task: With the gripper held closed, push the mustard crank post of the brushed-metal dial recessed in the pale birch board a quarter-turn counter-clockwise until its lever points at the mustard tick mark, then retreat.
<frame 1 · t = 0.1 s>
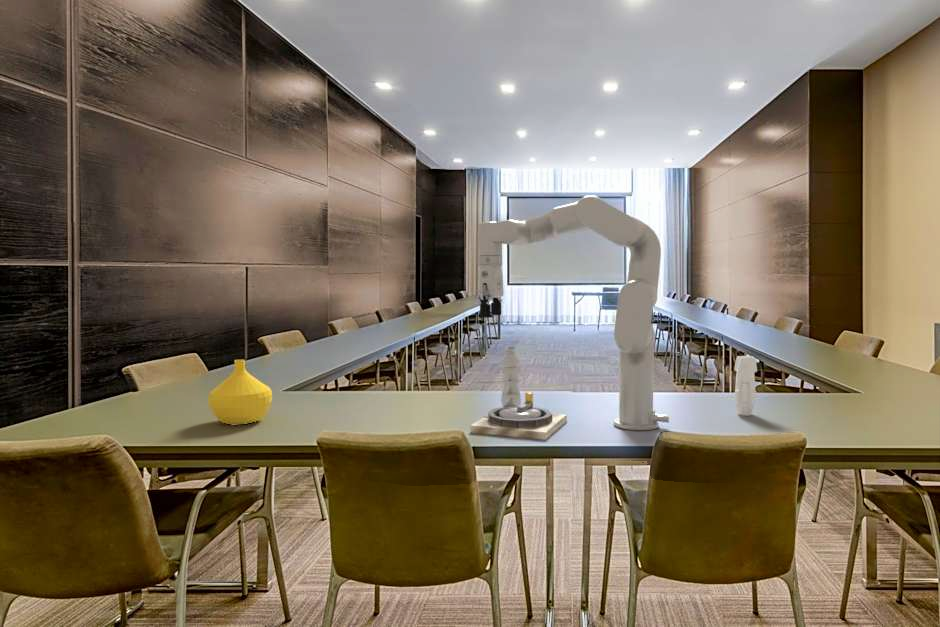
hand: (490, 316, 198), 31 cm above the table, fingers open, 9 cm apart
flashlight: (744, 414, 195), on the table
dial plate: (520, 426, 183), on the table
plastic bottle: (511, 408, 208), on the table
dial: (522, 407, 184), point 5 cm above the table, hinge at 0.0°
vase: (241, 422, 193), on the table
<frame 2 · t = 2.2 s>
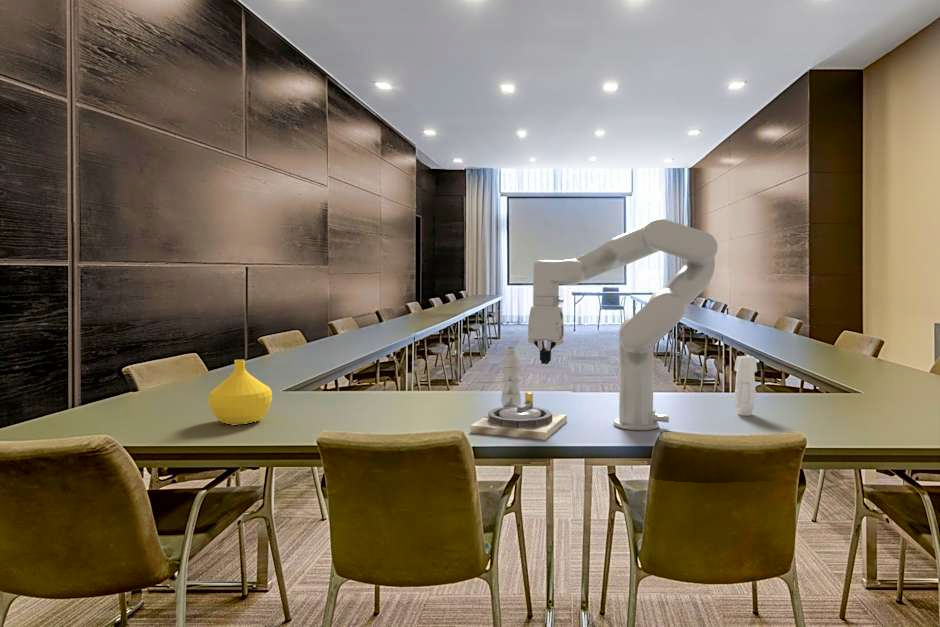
hand: (545, 363, 187), 18 cm above the table, fingers closed
nothing on the table moved.
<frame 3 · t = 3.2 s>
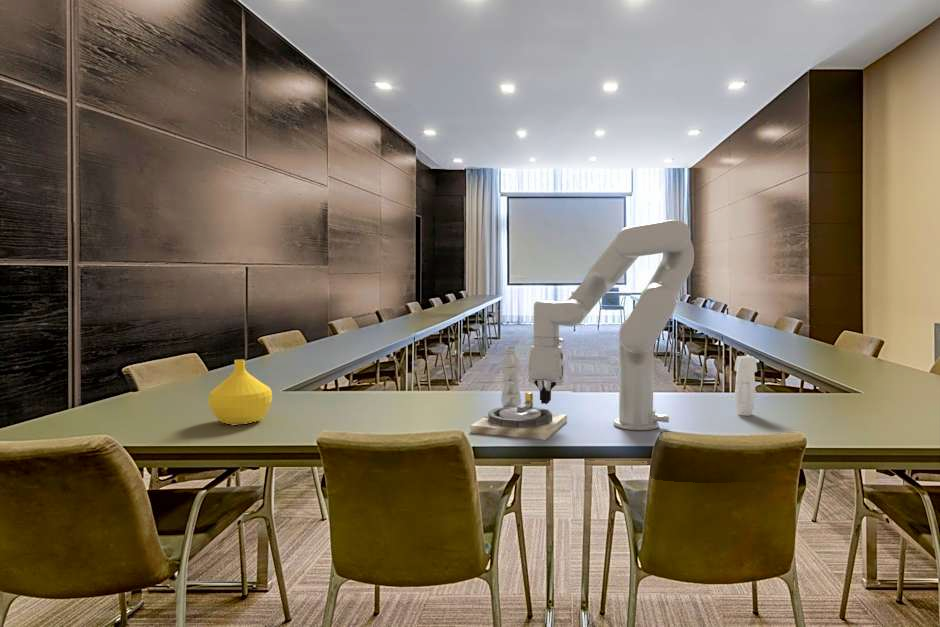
hand: (545, 402, 188), 6 cm above the table, fingers closed
nothing on the table moved.
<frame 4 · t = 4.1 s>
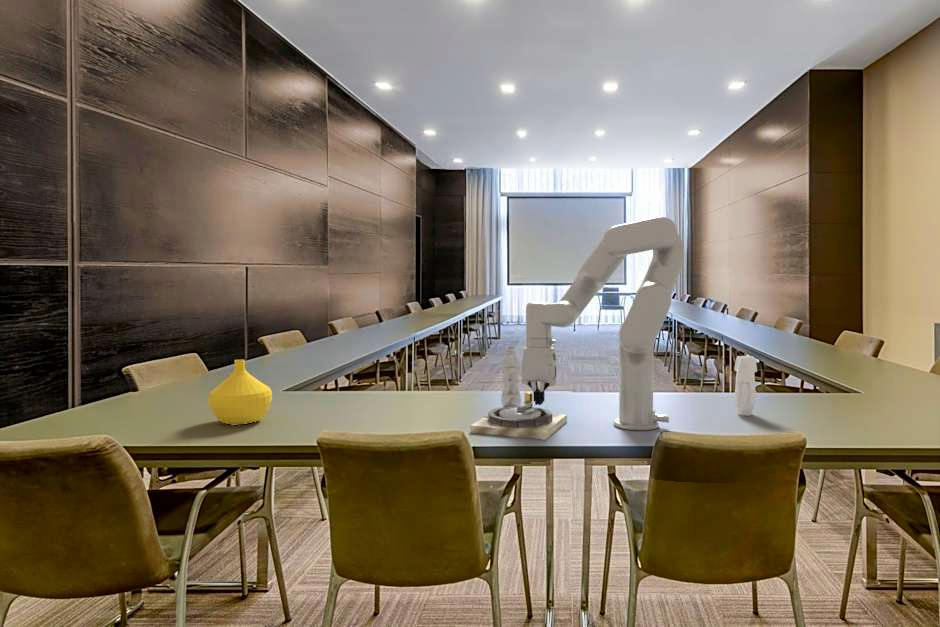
hand: (539, 403, 189), 5 cm above the table, fingers closed
dial: (521, 407, 184), point 5 cm above the table, hinge at 1.3°, touching gripper
everything else where it was.
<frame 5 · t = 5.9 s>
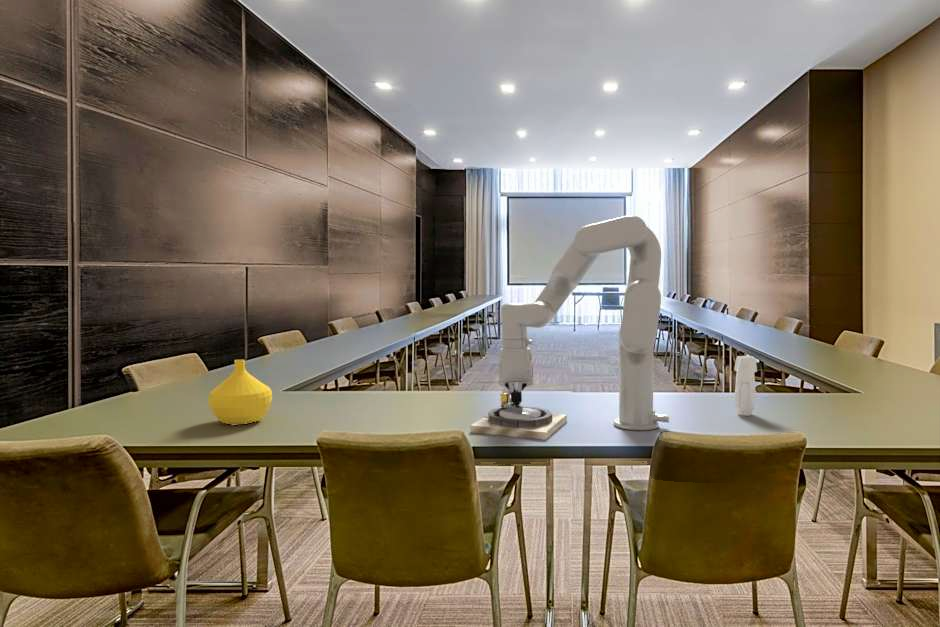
hand: (516, 404, 190), 5 cm above the table, fingers closed
dial: (516, 407, 184), point 5 cm above the table, hinge at 52.1°, touching gripper
everything else where it was.
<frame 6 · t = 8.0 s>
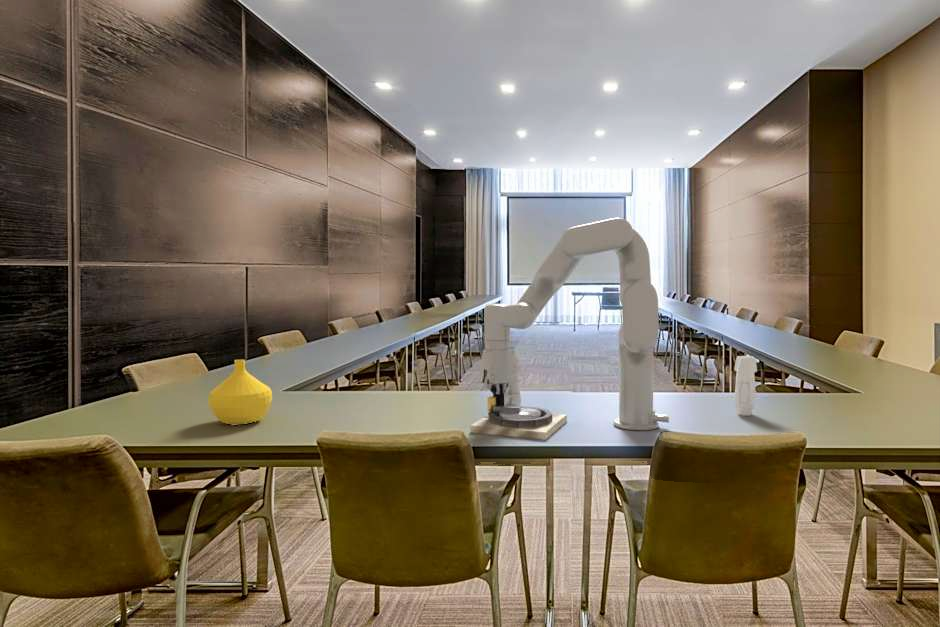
hand: (498, 406, 188), 5 cm above the table, fingers closed
dial: (513, 408, 183), point 5 cm above the table, hinge at 97.2°
everything else where it was.
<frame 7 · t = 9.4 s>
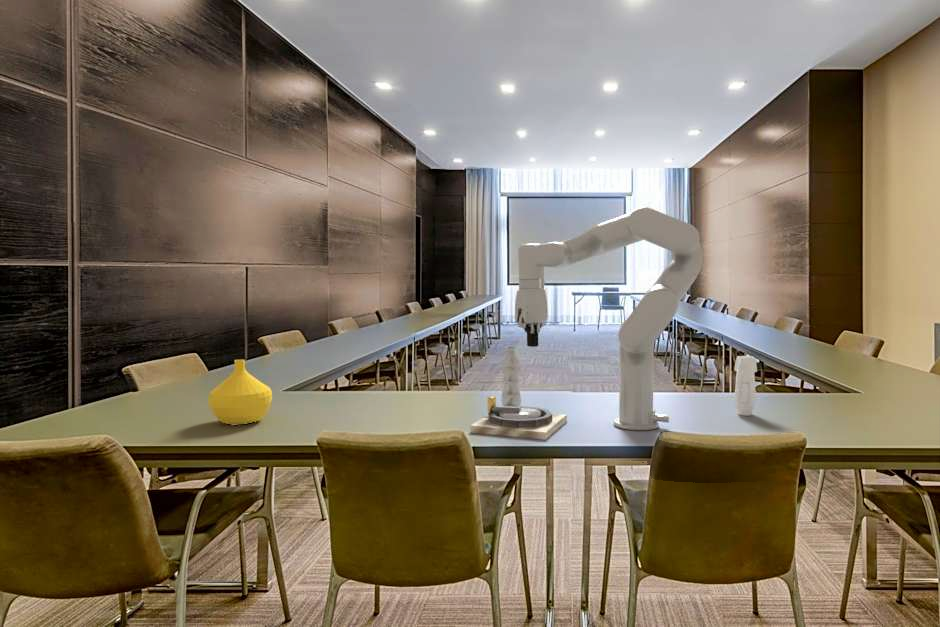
hand: (532, 346, 189), 23 cm above the table, fingers closed
nothing on the table moved.
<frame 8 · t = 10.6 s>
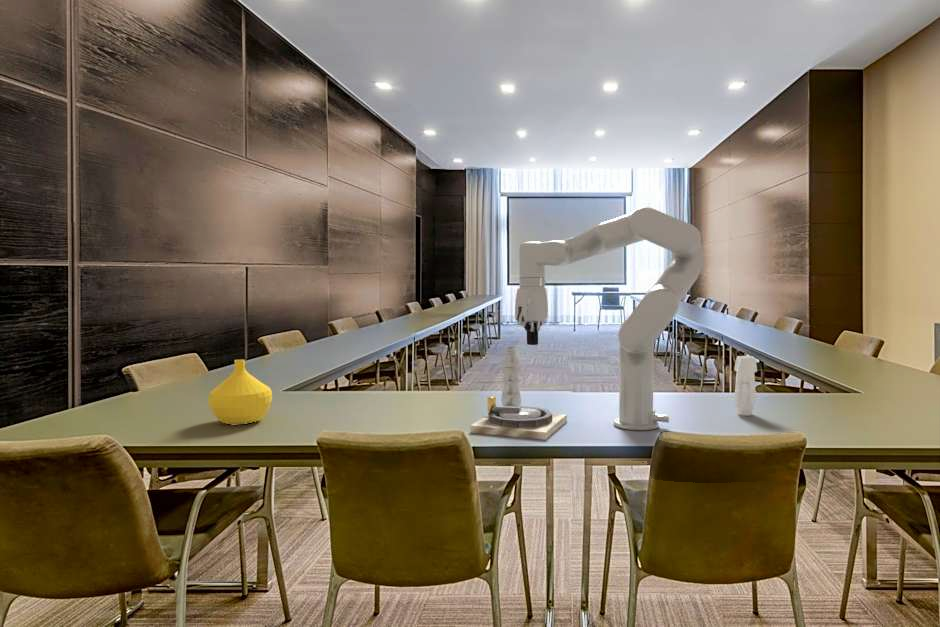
hand: (532, 344, 189), 23 cm above the table, fingers closed
nothing on the table moved.
at the end: dial at +97° (first picture: +0°); dial touching nothing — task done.
